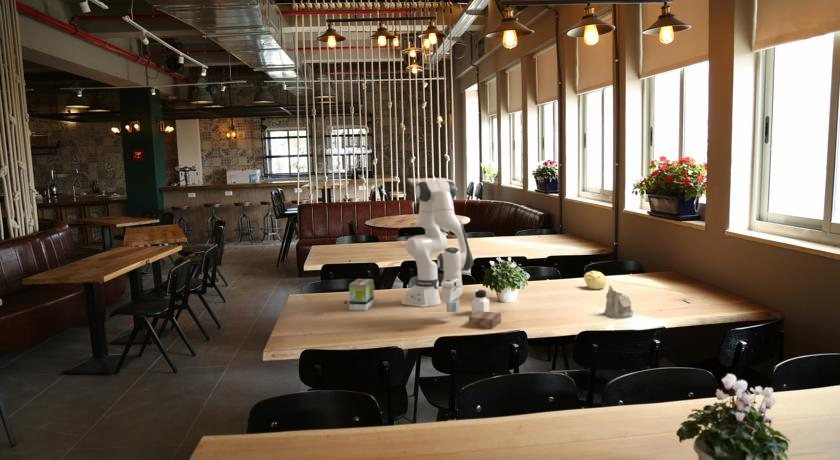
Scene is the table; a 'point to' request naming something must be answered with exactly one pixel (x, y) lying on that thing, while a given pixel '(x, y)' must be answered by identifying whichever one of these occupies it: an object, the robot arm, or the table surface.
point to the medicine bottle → (480, 302)
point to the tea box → (361, 294)
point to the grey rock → (618, 305)
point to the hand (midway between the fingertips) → (453, 307)
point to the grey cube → (454, 306)
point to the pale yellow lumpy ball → (595, 280)
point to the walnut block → (485, 319)
